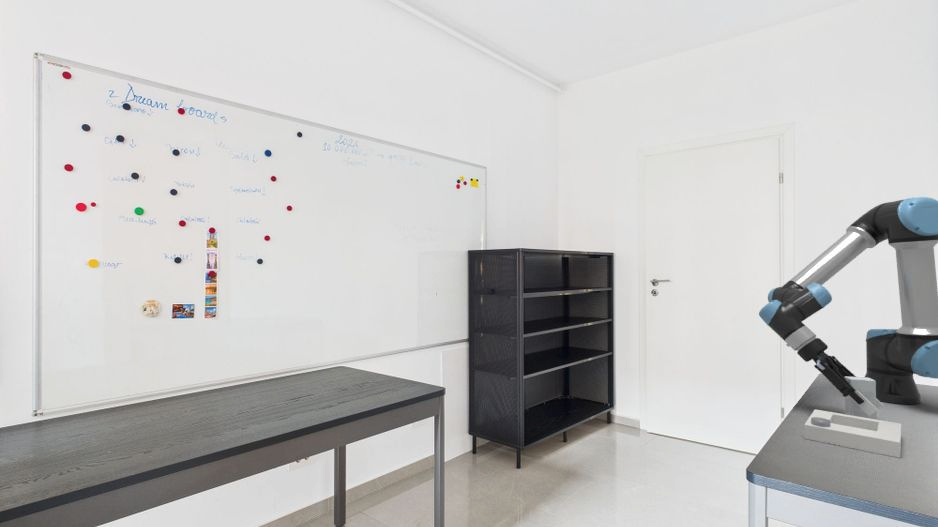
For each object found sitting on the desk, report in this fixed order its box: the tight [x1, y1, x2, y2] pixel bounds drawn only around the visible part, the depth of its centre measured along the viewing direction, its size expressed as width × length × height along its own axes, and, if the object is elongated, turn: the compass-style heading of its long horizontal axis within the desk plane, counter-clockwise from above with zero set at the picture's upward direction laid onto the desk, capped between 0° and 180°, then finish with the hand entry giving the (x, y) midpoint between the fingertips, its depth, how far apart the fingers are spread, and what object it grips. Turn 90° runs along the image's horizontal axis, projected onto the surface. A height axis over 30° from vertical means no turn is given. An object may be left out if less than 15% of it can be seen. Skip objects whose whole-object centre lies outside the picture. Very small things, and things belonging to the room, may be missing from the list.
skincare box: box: [844, 376, 878, 420], centre depth 135 cm, size 6×4×12 cm
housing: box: [803, 409, 902, 459], centre depth 121 cm, size 18×18×5 cm
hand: (876, 410), depth 132 cm, fingers closed on skincare box, 6 cm apart
